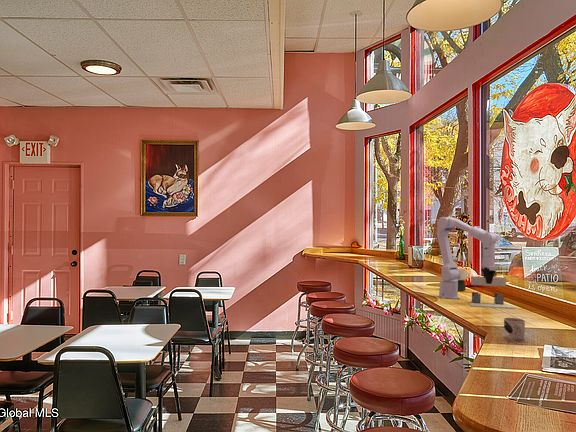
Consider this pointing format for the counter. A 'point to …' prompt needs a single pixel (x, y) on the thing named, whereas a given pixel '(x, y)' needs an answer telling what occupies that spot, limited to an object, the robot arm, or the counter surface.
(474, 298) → the brown boxy piece
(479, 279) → the rail
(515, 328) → the mug
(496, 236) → the robot arm
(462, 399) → the counter surface
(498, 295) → the post right
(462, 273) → the character mug
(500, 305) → the mat
